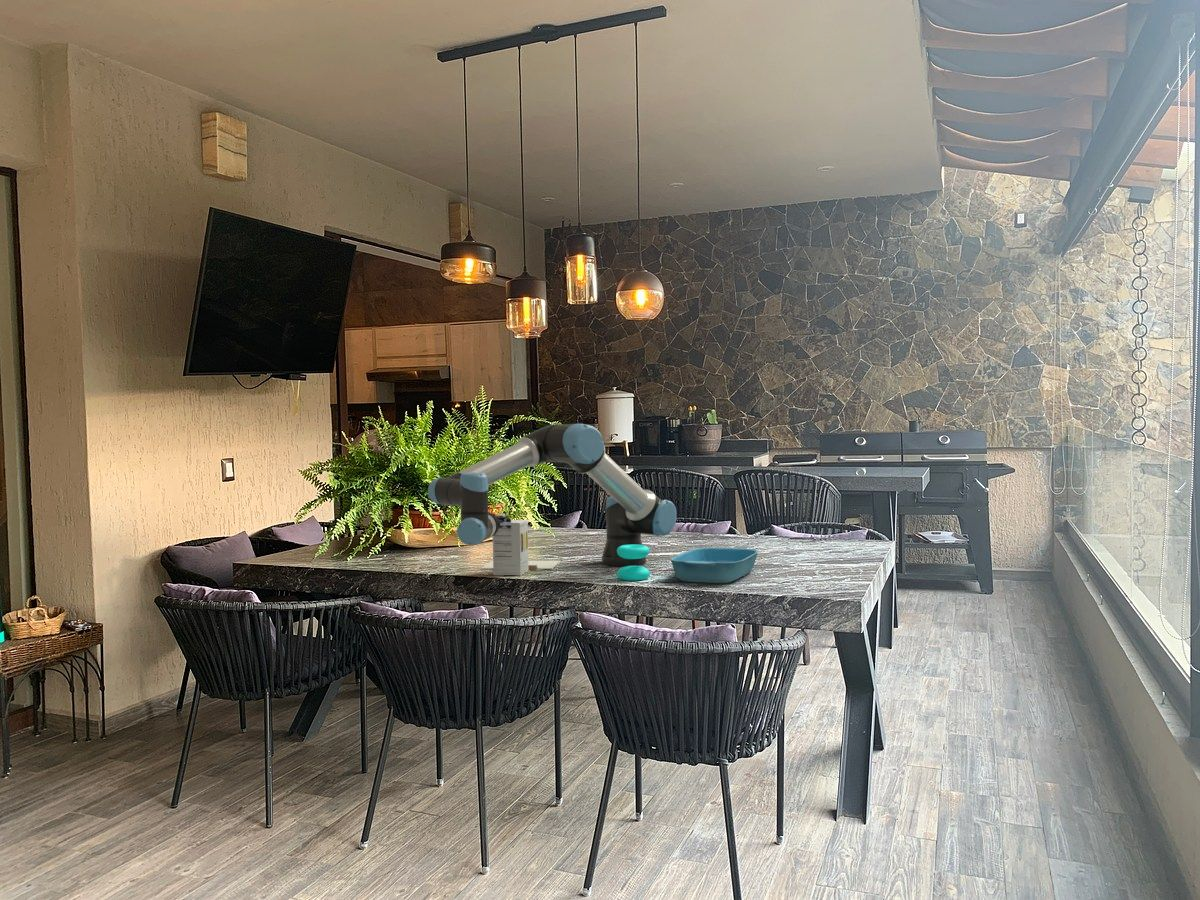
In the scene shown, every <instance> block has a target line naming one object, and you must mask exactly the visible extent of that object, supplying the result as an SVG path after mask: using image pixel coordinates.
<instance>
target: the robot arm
mask: <svg viewBox="0 0 1200 900" xmlns="http://www.w3.org/2000/svg"><path fill="white" fill-rule="evenodd" d="M544 463H565V464H568V465H569V466H570V467H571V468H572V469H573V470H575V471H576V472H577V473H578V474H586V475H587V476H588V477H590V478H591V479H592V480H593V481H594V482H595V483H596V485H599V486H600V488H602V489H603V491H605V492H606V493H607V494H608V495H609V496H608V497H607V499H606V501H605V526H606V527H605V529H606V530H605V531H606V540H605V541H606V542H605V545H604V547H603V552H602V555H601V563H602V565H606V566H612V567H613V566H617V567H625V566H641V565H644V564H646V563H647V556H646V557H644V558H640V559H626V558H622V557H620V556H619V555H618V554H617V548H618V547H620V546H622V545H631V544H637V545H643V542H642V535H651V536H656V537H665V536H667V535H669V534H670V533H671V532H672V531H673V529H674V527H675V525H676V523H677V508H676V506H675V504H674V503H673V502H672V501H671V500H667V499H661V498H659V496H657V495H656V494H655V492H653V491H652V490H650V489H643V488H642V487H641V486H640V485H639V484H638V483H637V482H636V481H635V480H634V479H633V478H632V477H631V476H630V475H628V473H627V472H626V471H625V470H624V469H623V468H621V467H620V465H618V464H617V463H616V461H614V460H613V459H612V458H611V457H610V456H609V455H608V454H607V453H606V447H605V442H604V441H603V436H602V433H601V432H600V431H599V430H598V429H597V428H596V427H595V426H593V425H590V424H585V423H567V424H566V423H565V424H561V423H559V424H558V423H557V424H556V423H554V424H548V425H546V426H543V427H541V428H540V429H539V428H538V429H537V430H534V431H533V432H530V433H529V434H527V435H524V436H523V437H520V438H519V439H518V440H517V443H515V444H512V446H509V447H508V448H506V449H503V450H501V451H499V452H497V453H495V454H493V455H491V456H489V457H487V458H485V459H483V460H480V461H478V462H476V463H474V464H472V465H470V466H468V467H466V468H464V469H462V470H460V471H458V472H456V473H453V474H451V475H449V476H447V477H437V478H434V479H432V481H431V482H430V483H429V485H428V488H427V494H428V495H427V496H428V497H429V499H430V500H431V501H432V502H433V503H435V504H437V505H441V506H452V507H453V506H456V507H460V522H459V524H458V526H457V527H456V533H457V538H458V539H459V541H461V543H463V544H464V545H467V546H474V545H479V544H482V543H484V541H486V540H489V539H490V538H493V536H494V535H495V534H496V533H497V532H498V530H499V528H502V527H507V528H511V520H512V519H511V518H510V516H509V515H506V513H502V512H500V513H498V514H495V513H492V512H490V511H489V488H490V487H489V486H491V485H493V484H495V483H496V482H499V481H500V480H503V479H505V478H506V477H509V476H510V475H512V474H515V473H517V472H518V471H521V470H523V469H525V468H527V467H536V466H538V465H540V464H544Z"/></svg>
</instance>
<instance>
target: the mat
mask: <svg viewBox="0 0 1200 900" xmlns="http://www.w3.org/2000/svg"><path fill="white" fill-rule="evenodd" d="M560 563H561V560H528V571H537V569H553V568H554V567H555V566H556V565H557V564H558V565H559V564H560ZM558 565H557V566H558ZM557 566H556V567H557ZM556 567H555V568H556ZM481 568H483V569H482V570H493V560H490V561H489V562H488V563H486V564H485V565H483V566H481V567H480V569H481ZM555 568H554V569H555ZM554 569H553V570H554Z"/></svg>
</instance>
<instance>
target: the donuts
mask: <svg viewBox="0 0 1200 900" xmlns="http://www.w3.org/2000/svg"><path fill="white" fill-rule="evenodd" d="M617 554H618V555H619V556H620V557H622V558H626V559H640V558H644V557H646V558H647V556H649V554H650V547H648V546H647V545H645V544H644V545H643V544H642V545H637V544H631V545H622V546H620V547H618V548H617ZM616 573H617V574H616V575H617V577H618V579H620V580H622V581H629V582H632V581H633V582H637V581H644V580H647V579H648V578H649V577H650V574H651V572H650V569H648V568H647V567H646V566H641V565H633V566H621V567H620V568H619V569H618V570H617V572H616Z"/></svg>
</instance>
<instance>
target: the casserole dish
mask: <svg viewBox="0 0 1200 900" xmlns="http://www.w3.org/2000/svg"><path fill="white" fill-rule="evenodd" d="M758 553H759V550H758V549H754V548H745V547H728V546H727V547H723V546H722V547H720V546H717V547H715V546H713V547H712V546H711V547H710V546H709V547H707V546H706V547H698V548H692V549H688V550H686V551H684V552H682V553H679V554H677V555H674V556H672V557H671V558H670V561H671V564H672V568H673V571H674V574H675V576H676V577H677V578H678V579H679V580H680V581H682V582H689V583H705V584H728V583H732V582H735V581H736V580H739V579H741V578H742V577H744V576H745V575H747V574H748V573H749V572H751V571H753V568H754V566H755V564H756V560H757V556H758Z"/></svg>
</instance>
